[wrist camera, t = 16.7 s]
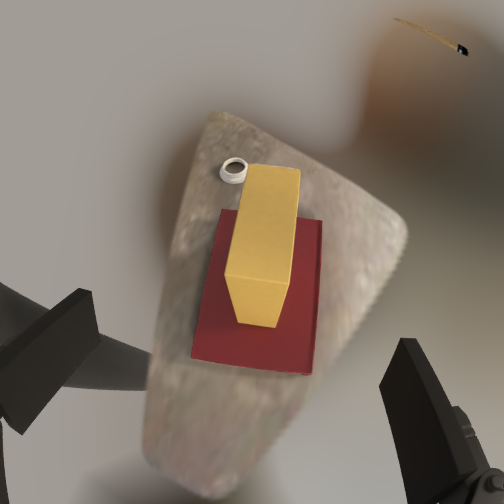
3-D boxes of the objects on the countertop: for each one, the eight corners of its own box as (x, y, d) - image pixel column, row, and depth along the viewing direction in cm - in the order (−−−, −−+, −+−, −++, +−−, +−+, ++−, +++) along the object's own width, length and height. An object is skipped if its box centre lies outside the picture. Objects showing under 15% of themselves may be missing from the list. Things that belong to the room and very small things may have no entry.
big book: (304, 375, 28) (311, 374, 24) (198, 361, 28) (190, 357, 25) (316, 238, 34) (322, 220, 31) (225, 227, 35) (221, 208, 32)
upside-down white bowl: (231, 162, 40) (210, 185, 38) (230, 147, 37) (207, 171, 36) (262, 175, 39) (241, 201, 37) (262, 161, 36) (239, 186, 34)
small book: (237, 322, 26) (223, 275, 15) (251, 243, 30) (249, 160, 19) (275, 328, 26) (289, 284, 15) (286, 247, 30) (301, 166, 19)
